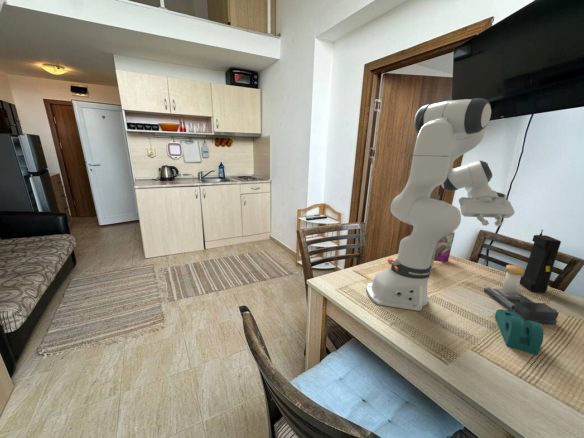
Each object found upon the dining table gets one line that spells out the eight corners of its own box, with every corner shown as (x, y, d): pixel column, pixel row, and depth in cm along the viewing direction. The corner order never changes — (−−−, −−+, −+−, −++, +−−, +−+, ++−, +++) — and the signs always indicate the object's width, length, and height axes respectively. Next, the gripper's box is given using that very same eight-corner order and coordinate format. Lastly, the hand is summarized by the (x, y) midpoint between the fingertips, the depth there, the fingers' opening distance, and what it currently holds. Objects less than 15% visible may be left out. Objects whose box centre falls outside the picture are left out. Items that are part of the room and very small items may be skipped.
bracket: (537, 356, 67) (545, 332, 65) (506, 346, 70) (513, 323, 68) (517, 319, 82) (524, 298, 80) (492, 312, 85) (498, 293, 83)
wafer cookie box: (424, 260, 126) (430, 230, 122) (422, 256, 131) (427, 227, 126) (448, 262, 124) (455, 232, 119) (445, 258, 128) (451, 229, 124)
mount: (483, 291, 98) (486, 281, 97) (508, 292, 98) (512, 282, 96) (524, 323, 80) (528, 311, 79) (556, 324, 79) (560, 312, 78)
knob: (495, 291, 95) (502, 264, 92) (508, 292, 95) (516, 265, 92) (505, 299, 90) (514, 270, 87) (520, 299, 90) (529, 271, 87)
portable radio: (549, 295, 97) (569, 236, 90) (531, 293, 98) (550, 235, 91) (534, 284, 104) (552, 230, 97) (518, 283, 105) (535, 228, 99)
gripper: (461, 193, 106) (471, 220, 99) (510, 194, 105) (523, 222, 98) (453, 201, 111) (462, 227, 104) (499, 202, 110) (511, 229, 103)
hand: (492, 225), depth 101 cm, fingers open, 4 cm apart
